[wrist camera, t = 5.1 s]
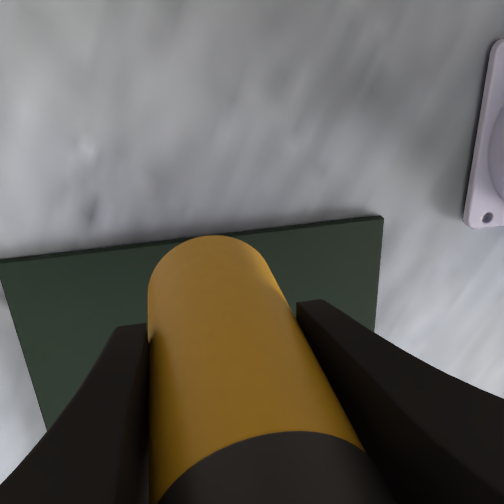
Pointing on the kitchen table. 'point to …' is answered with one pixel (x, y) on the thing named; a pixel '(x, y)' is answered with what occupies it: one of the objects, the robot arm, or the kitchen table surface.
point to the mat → (136, 292)
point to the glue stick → (242, 391)
